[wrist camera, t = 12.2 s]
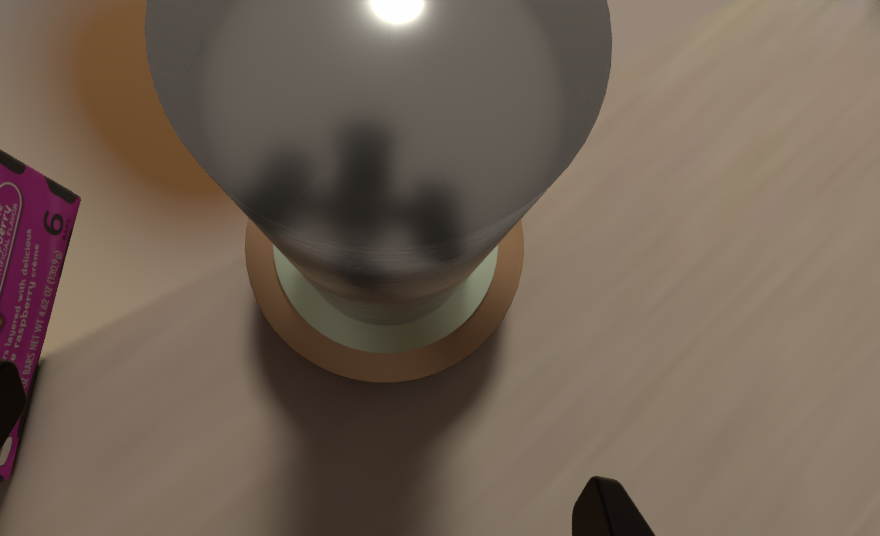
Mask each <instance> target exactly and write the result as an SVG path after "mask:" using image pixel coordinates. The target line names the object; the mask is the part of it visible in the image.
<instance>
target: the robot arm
mask: <svg viewBox="0 0 880 536" xmlns="http://www.w3.org/2000/svg"><path fill="white" fill-rule="evenodd" d="M26 401H27V397H26V393H25V389H24V386H23V383H22V380H21V377H20V373H19V370H18V367H17V365H16V364H15V363H14V362H13V361H10V360H5V359H0V450H1V448H2V447H3V445H4V443H5V442H6V440H7V438H8V437H9V435H10V434H11V432H12V430H13V429H14V427H15V425H16V424H17V422H18V420H19V419H20V417H21V415H22V414H23V412H24V409H25V406H26ZM572 536H655V534H654V533H653V531H652V530H651V528H650V527H649V525H648V524H647V522H646V521H645V519H644V518H643V516H642V515H641V513H640V512H639V510H638V509H637V507H636V506H635V504H634V503H633V501H632V500H631V498H630V497H629V495H628V494H627V492H626V491H625V489H624V488H623V486H622V485H621V484H620V483H619V482H618V481H617V480H614V479H610V478H605V477H600V476H593V477H592V478H590V480H589V481H588V483H587V484H586V486H585V488H584V489H583V491H582V493H581V494H580V496H579V498H578V499H577V501H576V503H575V505H574V508H573V513H572Z"/></svg>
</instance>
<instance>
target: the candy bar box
mask: <svg viewBox="0 0 880 536" xmlns="http://www.w3.org/2000/svg"><path fill="white" fill-rule="evenodd" d="M80 201H81V198H80V197H79V196H78V195H76V194H74V193H73V192H72V191H70V190H68V189H67V188H65V187H63V186H61V185H60V184H58V183H56V182H55V181H53V180H51V179H49V178H47V177H46V176H44V175H43V174H41V173H39V172H38V171H36V170H34V169H33V168H31V167H29V166H27V165H26V164H24V163H22V162H21V161H19V160H17V159H15V158H13V157H12V156H10V155H9V154H7V153H5V152H3V151H2V150H0V359H5V360H10V361H13V362H14V363H15V364H16V365H17V367H18V370H19V373H20V377H21V380H22V383H23V386H24V389H25V393H26V397H27V401H26V406H25V409H24V412H23V414H22V415H21V417H20V419H19V420H18V422H17V424H16V425H15V427H14V429H13V430H12V432H11V434H10V435H9V437H8V438H7V440H6V442H5V443H4V445H3V447H2V448H1V450H0V482H3V481H5V480H7V479H8V478H9V477H10V474H11V470H12V466H13V462H14V458H15V454H16V449H17V445H18V442H19V438H20V433H21V429H22V425H23V422H24V418H25V414H26V410H27V406H28V402H29V397H30V394H31V390H32V385H33V381H34V378H35V374H36V370H37V366H38V361H39V357H40V354H41V350H42V346H43V343H44V339H45V335H46V331H47V327H48V323H49V319H50V316H51V312H52V308H53V304H54V300H55V296H56V292H57V288H58V284H59V281H60V277H61V273H62V269H63V265H64V261H65V257H66V253H67V250H68V246H69V242H70V238H71V235H72V231H73V227H74V223H75V219H76V216H77V212H78V208H79V205H80Z"/></svg>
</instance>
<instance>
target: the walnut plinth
mask: <svg viewBox="0 0 880 536" xmlns="http://www.w3.org/2000/svg"><path fill="white" fill-rule="evenodd" d="M245 241H246V242H245V253H246V266H247V271H248V275H249V280H250V284H251V287H252V290H253V292H254V295H255V298H256V300H257V302H258V304H259V306H260V308H261V310H262V312H263V314H264V316H265V317H266V319H267V320H268V322H269V323H270V324H271V326H272V327H273V328H274V330H275V331H276V333H277V334H278V335H279V336H280V337H281V338H282V339H283V340H284V341H285V342H286V343H287V344H288V345H289V346H290V347H291V348H293V349H294V350H295V351H296V352H298V353H299V354H300V355H301V356H303V357H304V358H305V359H307V360H309V361H311V362H312V363H314V364H316V365H317V366H319V367H321V368H323V369H325V370H328V371H330V372H332V373H335V374H337V375H340V376H344V377H348V378H351V379H355V380H361V381H368V382H401V381H409V380H415V379H418V378H422V377H426V376H429V375H433V374H435V373H437V372H440V371H442V370H444V369H447V368H449V367H451V366H452V365H454V364H456V363H458V362H459V361H461V360H463V359H464V358H466V357H467V356H468V355H470V354H471V353H472V352H473V351H475V350H476V349H477V348H478V347H480V346H481V345H482V344H483V343H484V341H485V340H486V339H487V338H488V337H489V336H490V335H491V334H492V333H493V332H494V330H495V329H496V328H497V326H498V325H499V324H500V322H501V321H502V320H503V318H504V316H505V314H506V312H507V311H508V309H509V307H510V305H511V303H512V301H513V298H514V296H515V293H516V290H517V288H518V284H519V280H520V276H521V272H522V265H523V255H524V243H523V230H522V224H521V219H520V220H519V222H518V223H517V224H516V225H515V226H514V227H513V228H512V229H511V230H510V232H509V233H508V234H507V235H506V236H505V237H504V238H503V239H502V240H501V242H500V243H499V244H498V245H497V246H496V247H495V248H494V249H493V250H492V252H491V253H490V254H489V255H488V256H487V257H486V258H485V259H484V260H483V262H482V263H481V264H480V265H479V266H478V267H477V268H476V269H475V270H474V272H473V273H472V274H471V275H470V276H469V277H468V278H467V279H466V281H465V282H464V283H463V284H462V285H461V286H460V287H459V288H458V289H457V291H456V292H455V293H454V294H453V295H452V296H451V297H450V298H449V299H448V300H447V301H446V302H445V303H444V304H443V305H442V306H441V307H439V308H438V309H437V310H436V311H434V312H432V313H431V314H429V315H427V316H425V317H423V318H421V319H419V320H416V321H413V322H410V323H406V324H400V325H390V326H382V325H372V324H368V323H364V322H360V321H358V320H355V319H352V318H350V317H348V316H346V315H344V314H343V313H341V312H339V311H338V310H337V309H335V308H334V307H332V306H331V305H330V304H329V303H328V302H327V301H326V300H325V299H324V298H323V297H322V296H321V295H320V294H319V293H318V292H317V291H316V290H315V288H314V287H313V286H312V285H311V284H310V283H309V282H308V281H307V280H306V279H305V278H304V277H303V276H302V274H301V273H300V272H299V271H298V270H297V269H296V268H295V267H294V266H293V265H292V264H291V263H290V262H289V260H288V259H287V258H286V257H285V256H284V255H283V254H282V253H281V252H280V251H279V250H278V249H277V248H276V246H275V245H274V244H273V243H272V242H271V241H270V240H269V239H268V238H267V237H266V236H265V235H264V234H263V233H262V231H261V230H260V229H259V228H258V227H257V226H256V225H255V224H254V223H253V222H252V221H251V220H250V219H249V218H248V223H247V228H246V240H245Z"/></svg>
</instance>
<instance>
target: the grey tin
mask: <svg viewBox="0 0 880 536" xmlns="http://www.w3.org/2000/svg"><path fill="white" fill-rule="evenodd" d="M611 35H612V34H611V24H610V13H609V8H608V5H607V0H147V2H146V18H145V36H146V48H147V58H148V63H149V66H150V71H151V75H152V79H153V83H154V87H155V89H156V92H157V95H158V97H159V99H160V102H161V104H162V107H163V109H164V112H165V114H166V116H167V118H168V119H169V121H170V123H171V125H172V126H173V128H174V130H175V132H176V133H177V135H178V137H179V138H180V140H181V142H182V143H183V144H184V146H185V147H186V148H187V149H188V151H189V152H190V153H191V154H192V156H193V157H194V158H195V159H196V161H197V162H198V163H199V164H200V165H201V167H202V168H203V169H204V170H205V171H206V172H207V173H208V174H209V175H210V176H211V178H212V179H213V180H214V181H215V182H216V183H217V184H218V185H219V186H220V187H221V188H222V189H223V191H224V192H225V193H226V194H227V195H228V196H229V197H230V198H231V199H232V200H233V201H234V202H235V203H236V205H237V206H238V207H239V208H240V209H241V210H242V211H243V212H244V213H245V214H246V215H247V216H248V217H249V219H250V220H251V221H252V222H253V223H254V224H255V225H256V226H257V227H258V228H259V229H260V230H261V231H262V233H263V234H264V235H265V236H266V237H267V238H268V239H269V240H270V241H271V242H272V243H273V244H274V245H275V246H276V248H277V249H278V250H279V251H280V252H281V253H282V254H283V255H284V256H285V257H286V258H287V259H288V260H289V262H290V263H291V264H292V265H293V266H294V267H295V268H296V269H297V270H298V271H299V272H300V273H301V274H302V276H303V277H304V278H305V279H306V280H307V281H308V282H309V283H310V284H311V285H312V286H313V287H314V288H315V290H316V291H317V292H318V293H319V294H320V295H321V296H322V297H323V298H324V299H325V300H326V301H327V302H328V303H329V304H330V305H331V306H332V307H334V308H335V309H337V310H338V311H339V312H341V313H343V314H344V315H346V316H348V317H350V318H352V319H355V320H358V321H360V322H364V323H368V324H372V325H382V326H390V325H400V324H406V323H410V322H413V321H416V320H419V319H421V318H423V317H425V316H427V315H429V314H431V313H432V312H434V311H436V310H437V309H438V308H439V307H441V306H442V305H443V304H444V303H445V302H446V301H447V300H448V299H449V298H450V297H451V296H452V295H453V294H454V293H455V292H456V291H457V289H458V288H459V287H460V286H461V285H462V284H463V283H464V282H465V281H466V279H467V278H468V277H469V276H470V275H471V274H472V273H473V272H474V270H475V269H476V268H477V267H478V266H479V265H480V264H481V263H482V262H483V260H484V259H485V258H486V257H487V256H488V255H489V254H490V253H491V252H492V250H493V249H494V248H495V247H496V246H497V245H498V244H499V243H500V242H501V240H502V239H503V238H504V237H505V236H506V235H507V234H508V233H509V232H510V230H511V229H512V228H513V227H514V226H515V225H516V224H517V223H518V222H519V220H520V219H521V218H522V217H523V216H524V215H525V214H526V213H527V212H528V210H529V209H530V208H531V207H532V206H533V205H534V204H535V203H536V202H537V200H538V199H539V198H540V197H541V196H542V195H543V194H544V193H545V192H546V190H547V189H548V188H549V187H550V186H551V185H552V184H553V183H554V181H555V180H556V179H557V178H558V177H559V176H560V175H561V174H562V173H563V171H564V170H565V169H566V168H567V167H568V166H569V164H570V163H571V162H572V160H573V159H574V157H575V156H576V154H577V153H578V152H579V150H580V149H581V147H582V146H583V145H584V143H585V141H586V139H587V137H588V135H589V133H590V131H591V129H592V127H593V126H594V124H595V122H596V120H597V117H598V114H599V111H600V109H601V106H602V103H603V100H604V97H605V94H606V89H607V84H608V79H609V73H610V68H611V51H612V36H611Z"/></svg>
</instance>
